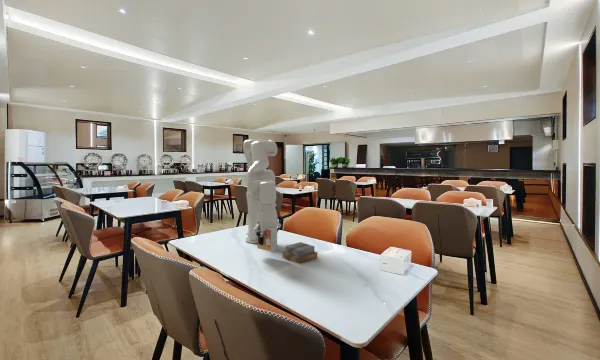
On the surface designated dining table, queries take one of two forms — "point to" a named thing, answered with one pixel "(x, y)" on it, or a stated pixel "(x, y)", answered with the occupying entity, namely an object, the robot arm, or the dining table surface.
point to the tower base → (299, 259)
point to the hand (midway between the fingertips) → (267, 242)
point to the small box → (269, 239)
